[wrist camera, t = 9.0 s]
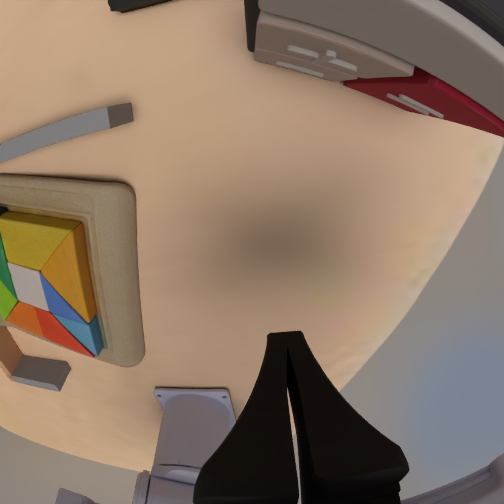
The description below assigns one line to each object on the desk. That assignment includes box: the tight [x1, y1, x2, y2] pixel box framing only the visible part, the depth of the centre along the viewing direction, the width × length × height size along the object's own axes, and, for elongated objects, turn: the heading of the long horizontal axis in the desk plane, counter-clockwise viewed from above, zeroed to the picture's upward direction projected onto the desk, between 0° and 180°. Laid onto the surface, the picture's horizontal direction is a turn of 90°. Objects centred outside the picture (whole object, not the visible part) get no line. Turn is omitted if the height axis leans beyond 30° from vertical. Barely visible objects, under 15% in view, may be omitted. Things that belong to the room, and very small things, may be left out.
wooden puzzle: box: [0, 174, 145, 367], centre depth 21 cm, size 18×19×4 cm
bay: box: [0, 103, 133, 392], centre depth 21 cm, size 24×24×4 cm
